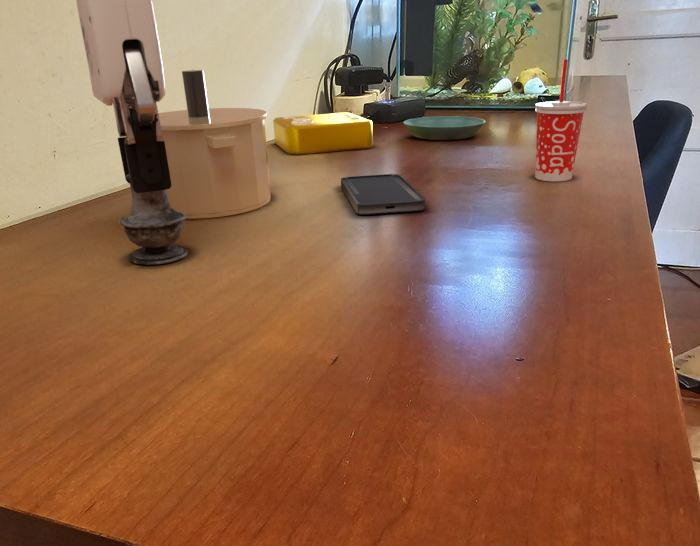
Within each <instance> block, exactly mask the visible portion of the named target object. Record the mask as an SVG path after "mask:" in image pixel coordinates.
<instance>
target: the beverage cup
mask: <svg viewBox="0 0 700 546" xmlns="http://www.w3.org/2000/svg"><path fill="white" fill-rule="evenodd" d="M568 60H569V59H563V64H562V72H561V80H560V81H561V82H560V91H559V99H558V100H555V101H554V100H553V101H545V102H544V101H543V102H537V103H535V112H536V115H537V116H536V140H535V141H536V143H535V171H534V172H535V174H534V178H535V179H536V180H540V181H543V182H544V181H545V182H566V181H569V180H572V178H573V173H574V167H575V162H576V157H577V151H578V147H579V141H580V134H581V130H582V129H581V128H582V125H583V117H584V113H585V112H586V111H587V107H588V103H586V102H582V101H570V100H565V99H564V98H565V89H566V81H567V69H568Z"/></svg>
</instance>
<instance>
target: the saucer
mask: <svg viewBox="0 0 700 546" xmlns="http://www.w3.org/2000/svg"><path fill="white" fill-rule="evenodd" d="M485 124H486V120H485V119H483V118H480V117H473V116H462V115H461V116H458V115H450V116H449V115H439V116H437V115H436V116H423V117H422V116H421V117H415V118H409V119H406V120H404V121H403V125H404V127H405V128H406V130H407V131H408V132H409V133H410V134H411V135H412V136H414V137H415V138H418V139H421V140H430V141H455V140H465V139H469V138H472V137H474V136H475V135H476V134H477V133H478V132H479V131H480V130H481V129H482V128H483V127H484V125H485Z"/></svg>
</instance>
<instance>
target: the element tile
mask: <svg viewBox="0 0 700 546" xmlns="http://www.w3.org/2000/svg"><path fill="white" fill-rule="evenodd" d="M272 122H273V135H274V143H275V145H276V146H278V147H280V149H281V150H282V151H284V152H285V153H286V154H288V155H293V156H294V155H295V156H297V155H310V154H321V153H322V154H323V153H331V152H332V153H333V152H343V151H354V150H364V149H370V148H372V147H373V145H374V136H373V133H374V132H373V121H372V120H371V119H367V118H365V117H362V116H360V115H358V114H354V113H352V112H335V113H334V112H333V113H320V114H307V115H295V116H293V115H292V116H291V115H290V116H282V117H280V116H279V117H275V118H274V119H273V121H272Z"/></svg>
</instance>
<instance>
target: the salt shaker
mask: <svg viewBox="0 0 700 546" xmlns="http://www.w3.org/2000/svg"><path fill="white" fill-rule="evenodd" d="M125 137H126V136H125ZM124 144H128V141H127V137H126V138H125V140H124ZM125 152H126V150H125ZM126 158H127V156H126ZM127 164H128V161H127ZM128 170H129V166H128ZM124 178H126V179H128V180H129V181H130V184H129V187H130V192H131V199H132V200H131V211H130V212H129V213H128V214H127V215H124V216H122V217H121V218H119V221H118V222H119V224H120V225H121V226H122V227H123V229H124V233H125V235H126V236H127V238H128V239H129V241H130V242H132V243H133V244H134V245H136V246H137V247H139V248H137V249H136V250H134V251H133V252H132V253H130V255H129V256H128V259H129V261H130V262H132V263H134V264H138V265H148V266H149V265H163V264H169V263H175V262H176V261H179V260H182V259H184V258H186V257H187V256H188V253H189V252H188V250H187V249H186V248H184V247H182V246H180V245H176V244H175V243H177V241H179V239H180V237H181V236H182V234H183V231H184V227H185V224H184V221H185V220H186V219H185V218H186V215H185V214H184V213H182V212H179V211H175V210H174V209H173V208H171V206H170V203H169V201H168V198H167V193H166V190H159V191H151V192H144V193H136V192H135V191H134V190H133V187H132V182H131V177H130V171H129V174H127V175H126V176H125V175H124ZM126 179H125V180H126Z"/></svg>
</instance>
